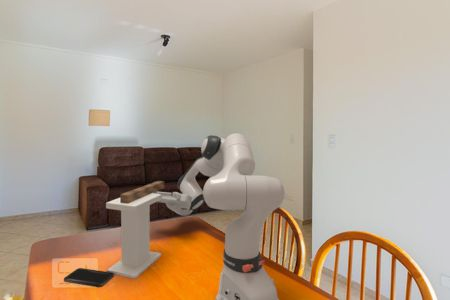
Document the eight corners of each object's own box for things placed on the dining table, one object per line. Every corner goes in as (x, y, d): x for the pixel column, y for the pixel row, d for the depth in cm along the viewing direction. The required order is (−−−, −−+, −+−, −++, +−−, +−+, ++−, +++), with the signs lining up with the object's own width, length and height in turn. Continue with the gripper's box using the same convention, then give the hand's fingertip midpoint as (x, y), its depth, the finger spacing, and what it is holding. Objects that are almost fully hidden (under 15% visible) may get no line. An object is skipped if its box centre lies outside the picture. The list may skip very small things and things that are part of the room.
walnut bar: (158, 187, 121) (158, 180, 121) (164, 188, 121) (164, 181, 120) (120, 202, 97) (120, 194, 96) (127, 203, 96) (127, 195, 95)
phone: (101, 285, 89) (62, 279, 92) (101, 288, 89) (62, 282, 92) (115, 272, 97) (79, 267, 100) (115, 275, 97) (79, 270, 100)
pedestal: (136, 251, 115) (136, 191, 113) (161, 255, 112) (161, 194, 110) (106, 272, 98) (105, 202, 96) (135, 278, 95) (135, 206, 93)
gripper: (158, 193, 139) (145, 184, 127) (195, 197, 133) (185, 188, 121) (155, 205, 136) (141, 197, 124) (192, 209, 131) (181, 202, 119)
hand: (163, 193), depth 123 cm, fingers open, 8 cm apart
